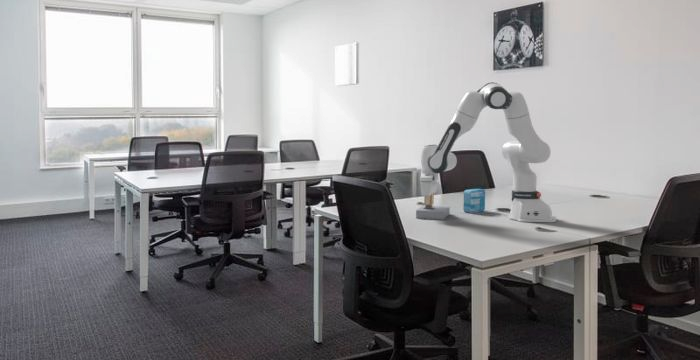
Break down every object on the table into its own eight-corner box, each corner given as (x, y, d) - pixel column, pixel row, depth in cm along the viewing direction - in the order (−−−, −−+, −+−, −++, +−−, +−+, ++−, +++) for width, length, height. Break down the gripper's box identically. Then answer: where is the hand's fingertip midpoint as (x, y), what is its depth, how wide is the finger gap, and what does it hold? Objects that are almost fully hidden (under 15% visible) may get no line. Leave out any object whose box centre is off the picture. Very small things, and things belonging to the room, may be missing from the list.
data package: (469, 213, 278) (469, 191, 276) (463, 212, 281) (463, 190, 280) (484, 211, 284) (485, 189, 283) (478, 210, 288) (479, 188, 287)
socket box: (449, 214, 276) (449, 206, 275) (443, 219, 261) (443, 211, 260) (423, 212, 281) (423, 205, 280) (416, 218, 266) (416, 210, 265)
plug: (433, 207, 272) (433, 192, 271) (432, 208, 268) (432, 193, 267) (426, 207, 273) (426, 192, 272) (424, 208, 270) (424, 193, 269)
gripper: (427, 174, 280) (427, 199, 281) (418, 178, 261) (418, 205, 262) (439, 174, 277) (439, 200, 279) (431, 178, 258) (431, 206, 260)
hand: (429, 202), depth 270 cm, fingers closed on plug, 4 cm apart
